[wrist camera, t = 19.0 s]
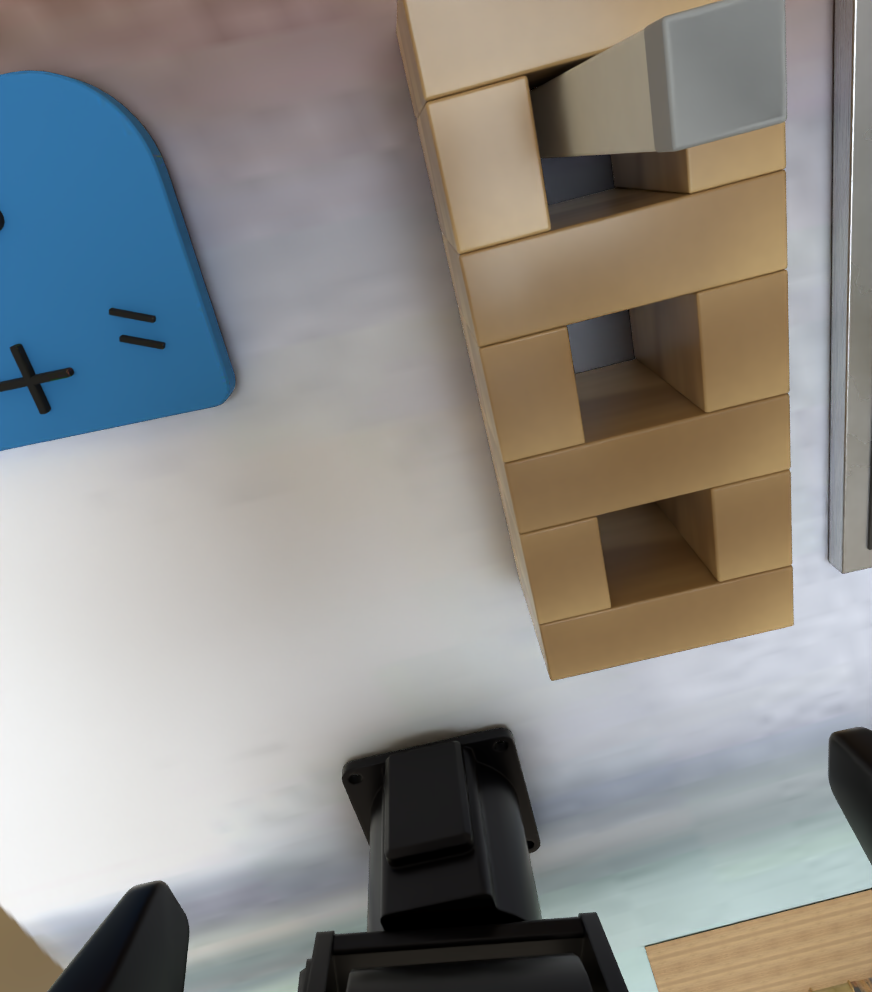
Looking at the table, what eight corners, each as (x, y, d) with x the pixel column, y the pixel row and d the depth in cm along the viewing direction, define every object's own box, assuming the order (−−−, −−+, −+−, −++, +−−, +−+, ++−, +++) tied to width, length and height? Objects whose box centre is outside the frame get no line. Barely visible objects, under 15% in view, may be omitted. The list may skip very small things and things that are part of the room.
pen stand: (713, 534, 22) (794, 626, 18) (519, 580, 23) (551, 682, 18) (670, -49, 16) (782, -136, 11) (395, 29, 16) (396, -25, 12)
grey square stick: (582, 145, 17) (788, 120, 8) (527, 159, 17) (673, 152, 8) (574, 81, 17) (786, -18, 8) (517, 97, 17) (662, 16, 8)
